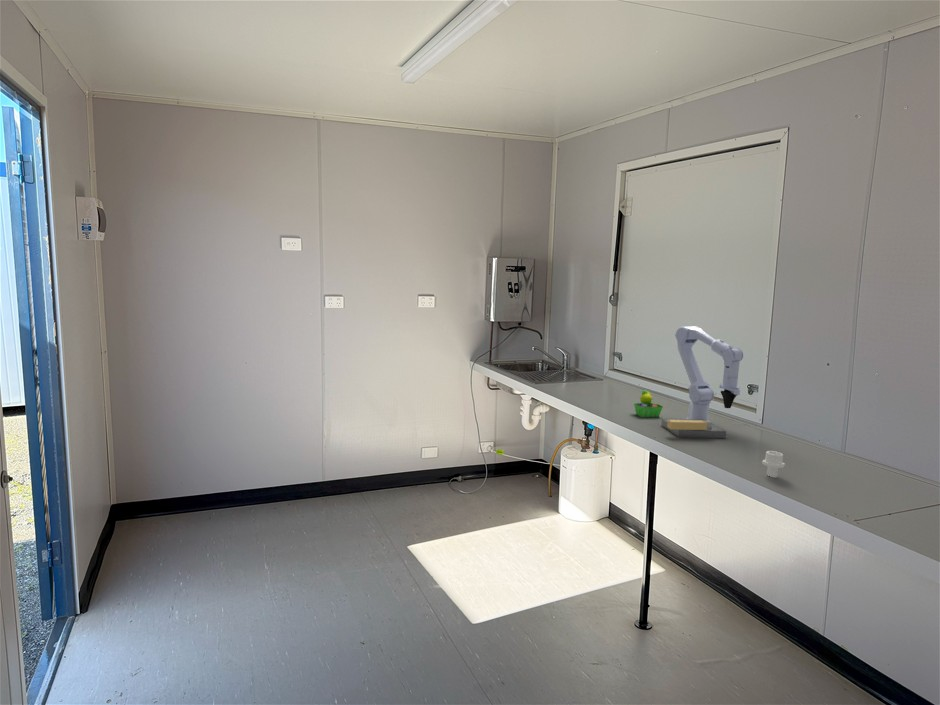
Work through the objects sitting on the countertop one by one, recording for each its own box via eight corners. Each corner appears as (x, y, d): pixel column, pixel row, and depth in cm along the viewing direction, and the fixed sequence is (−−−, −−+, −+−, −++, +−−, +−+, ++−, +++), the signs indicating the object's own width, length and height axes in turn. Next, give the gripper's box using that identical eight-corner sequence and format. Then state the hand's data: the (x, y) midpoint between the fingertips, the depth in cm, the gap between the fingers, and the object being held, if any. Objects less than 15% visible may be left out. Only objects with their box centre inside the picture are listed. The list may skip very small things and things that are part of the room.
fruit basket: (640, 418, 286) (642, 393, 285) (631, 413, 295) (633, 389, 293) (662, 417, 289) (665, 393, 287) (653, 412, 297) (655, 389, 296)
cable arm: (708, 427, 260) (709, 420, 260) (713, 430, 256) (714, 422, 256) (666, 426, 258) (667, 419, 258) (671, 429, 254) (671, 422, 254)
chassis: (661, 425, 274) (662, 417, 274) (705, 426, 276) (706, 418, 275) (678, 437, 256) (679, 429, 255) (726, 438, 258) (727, 430, 257)
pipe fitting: (758, 475, 213) (761, 452, 212) (765, 471, 218) (768, 448, 217) (778, 480, 209) (781, 457, 207) (785, 476, 214) (788, 453, 213)
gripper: (748, 380, 260) (744, 412, 262) (731, 373, 275) (728, 404, 277) (731, 379, 260) (728, 411, 262) (716, 373, 274) (713, 403, 276)
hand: (727, 407), depth 269 cm, fingers closed
